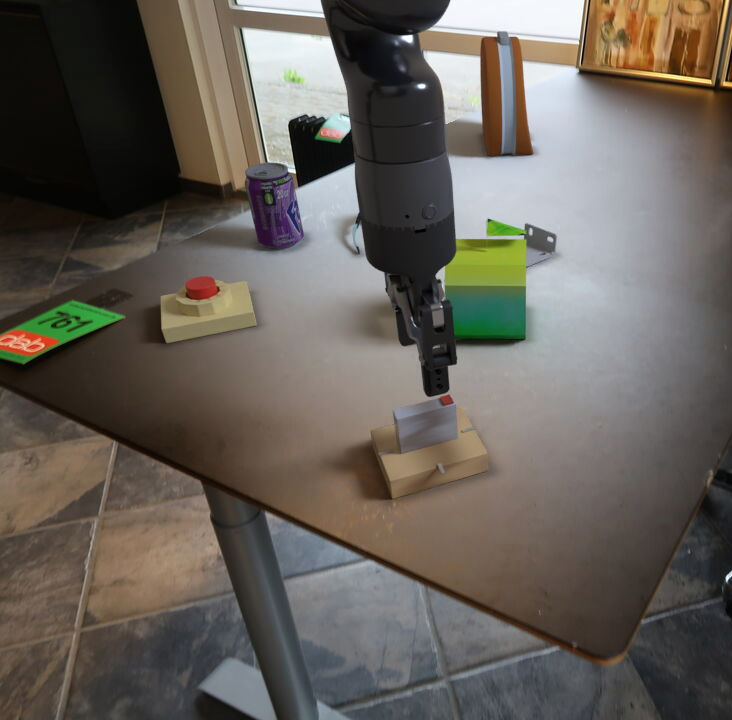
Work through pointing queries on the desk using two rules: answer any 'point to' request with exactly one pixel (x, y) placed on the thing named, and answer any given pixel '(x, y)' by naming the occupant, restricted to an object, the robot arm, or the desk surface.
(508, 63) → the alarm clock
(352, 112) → the robot arm
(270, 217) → the beverage can
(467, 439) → the block
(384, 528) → the desk surface
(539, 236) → the bracket
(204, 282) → the release button
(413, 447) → the upright gray plate
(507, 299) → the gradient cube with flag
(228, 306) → the box
